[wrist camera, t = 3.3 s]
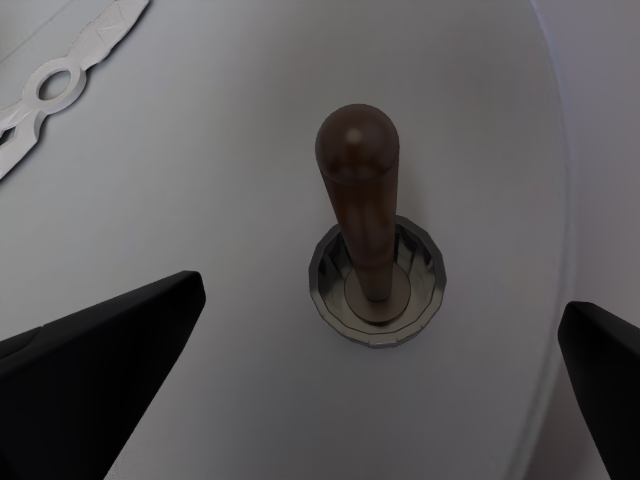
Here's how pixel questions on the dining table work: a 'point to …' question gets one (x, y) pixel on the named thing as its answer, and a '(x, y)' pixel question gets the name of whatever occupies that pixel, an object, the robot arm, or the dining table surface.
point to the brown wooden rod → (365, 206)
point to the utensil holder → (409, 253)
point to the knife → (80, 56)
